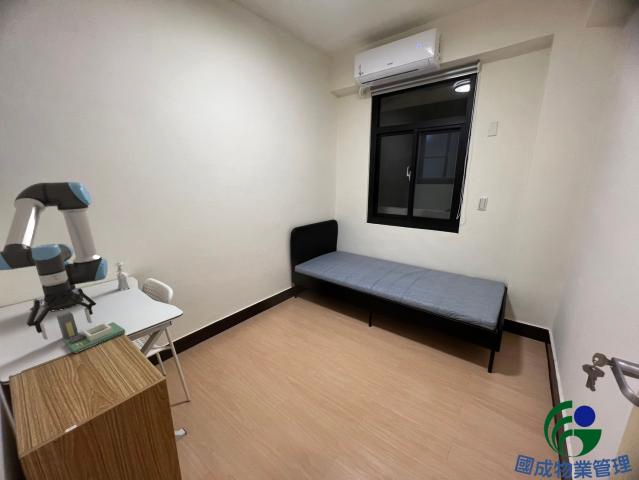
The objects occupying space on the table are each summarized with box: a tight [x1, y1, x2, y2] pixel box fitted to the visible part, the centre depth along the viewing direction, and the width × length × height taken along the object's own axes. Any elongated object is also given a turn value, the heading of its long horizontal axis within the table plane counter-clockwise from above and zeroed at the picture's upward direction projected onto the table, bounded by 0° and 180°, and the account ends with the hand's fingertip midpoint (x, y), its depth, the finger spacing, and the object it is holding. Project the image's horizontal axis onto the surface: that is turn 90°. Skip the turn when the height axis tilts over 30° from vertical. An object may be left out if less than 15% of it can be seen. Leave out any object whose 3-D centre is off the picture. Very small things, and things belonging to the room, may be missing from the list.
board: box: [64, 322, 126, 353], centre depth 102 cm, size 12×16×4 cm
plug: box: [56, 311, 80, 341], centre depth 104 cm, size 5×4×10 cm
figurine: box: [113, 260, 134, 290], centre depth 153 cm, size 7×8×18 cm
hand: (68, 330), depth 104 cm, fingers open, 13 cm apart
